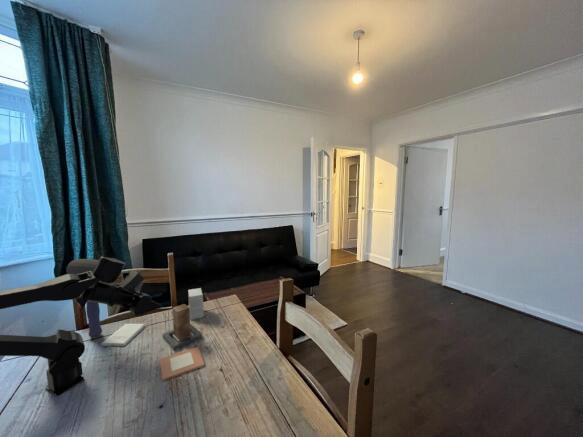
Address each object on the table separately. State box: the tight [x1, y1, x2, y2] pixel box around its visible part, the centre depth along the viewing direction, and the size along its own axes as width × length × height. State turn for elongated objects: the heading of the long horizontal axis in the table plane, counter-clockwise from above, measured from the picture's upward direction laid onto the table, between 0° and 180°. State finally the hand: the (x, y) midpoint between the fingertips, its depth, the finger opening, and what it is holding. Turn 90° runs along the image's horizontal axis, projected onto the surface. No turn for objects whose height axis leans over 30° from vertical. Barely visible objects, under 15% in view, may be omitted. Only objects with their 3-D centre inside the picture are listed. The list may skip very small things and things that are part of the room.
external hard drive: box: [101, 323, 146, 347], centre depth 94 cm, size 2×8×12 cm
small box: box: [187, 287, 205, 321], centre depth 110 cm, size 8×6×10 cm
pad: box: [159, 346, 206, 382], centre depth 80 cm, size 12×10×1 cm
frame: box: [162, 323, 203, 351], centre depth 93 cm, size 10×10×2 cm
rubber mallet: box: [65, 258, 103, 339], centre depth 91 cm, size 12×8×30 cm, turn 80°
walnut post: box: [172, 303, 193, 343], centre depth 93 cm, size 5×5×12 cm
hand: (154, 302), depth 88 cm, fingers open, 9 cm apart
